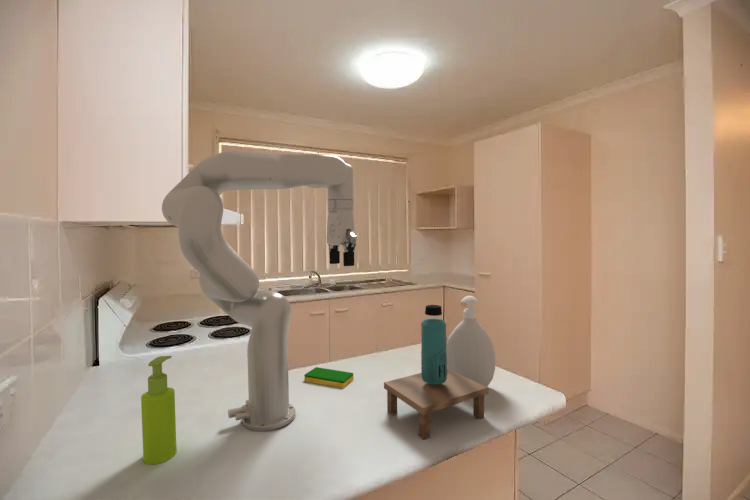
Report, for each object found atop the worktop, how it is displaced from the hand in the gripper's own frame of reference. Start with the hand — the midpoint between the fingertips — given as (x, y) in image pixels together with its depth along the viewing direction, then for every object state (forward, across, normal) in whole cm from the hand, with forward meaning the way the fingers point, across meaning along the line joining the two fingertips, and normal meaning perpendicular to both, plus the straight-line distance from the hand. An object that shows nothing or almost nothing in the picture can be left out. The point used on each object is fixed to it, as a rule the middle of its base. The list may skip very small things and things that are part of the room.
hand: (341, 264), depth 107 cm
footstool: (+36, +28, +12) cm, 47 cm away
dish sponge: (+37, -6, -2) cm, 38 cm away
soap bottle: (+36, +20, +32) cm, 52 cm away
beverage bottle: (+29, +28, +12) cm, 42 cm away
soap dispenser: (+36, +11, -47) cm, 61 cm away
